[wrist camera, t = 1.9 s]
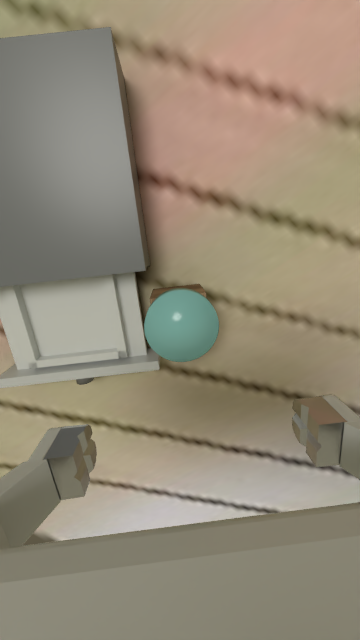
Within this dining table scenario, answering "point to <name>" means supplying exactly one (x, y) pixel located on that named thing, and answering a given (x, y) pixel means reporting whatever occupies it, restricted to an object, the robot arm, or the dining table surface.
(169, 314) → the teal flat dome
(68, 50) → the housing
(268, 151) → the dining table surface
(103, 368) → the light grey drawer
